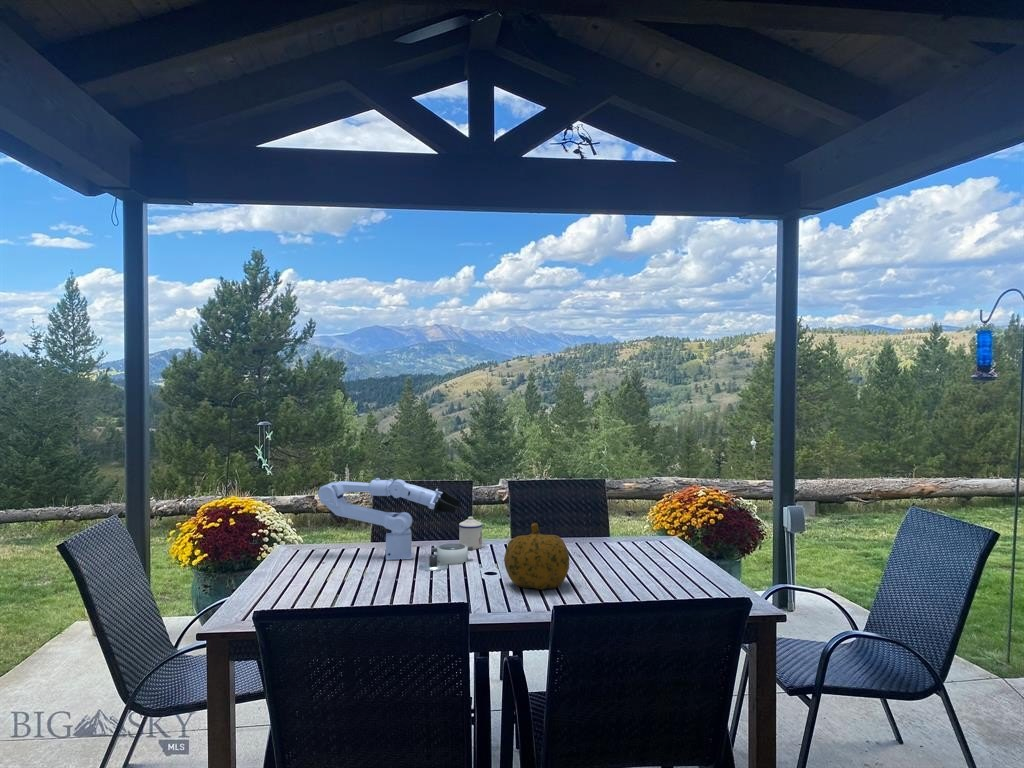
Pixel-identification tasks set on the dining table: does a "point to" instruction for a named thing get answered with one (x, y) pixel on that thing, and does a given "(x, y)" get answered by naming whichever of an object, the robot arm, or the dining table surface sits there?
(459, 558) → the pot
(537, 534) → the decorative pumpkin
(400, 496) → the robot arm
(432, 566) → the lid
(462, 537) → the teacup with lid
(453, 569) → the dining table surface
